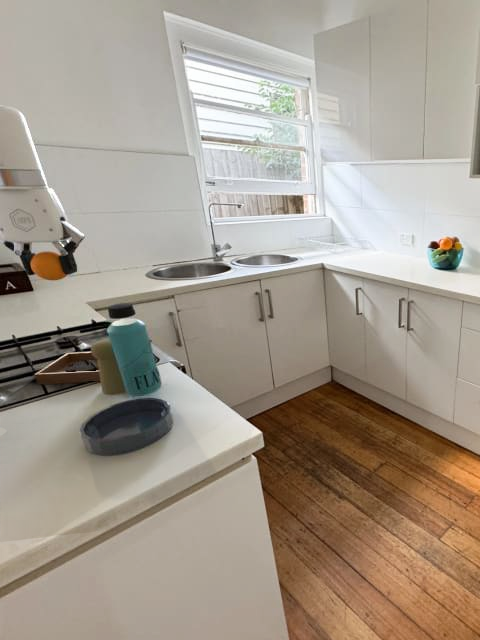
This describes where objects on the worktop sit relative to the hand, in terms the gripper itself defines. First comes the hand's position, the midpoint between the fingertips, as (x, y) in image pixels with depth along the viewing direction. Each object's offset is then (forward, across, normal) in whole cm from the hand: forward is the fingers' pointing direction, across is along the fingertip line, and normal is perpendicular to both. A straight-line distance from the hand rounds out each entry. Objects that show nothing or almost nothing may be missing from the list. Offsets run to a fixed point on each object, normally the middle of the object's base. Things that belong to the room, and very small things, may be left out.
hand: (53, 272), depth 80 cm
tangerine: (-1, 0, 0) cm, 1 cm away
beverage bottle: (+24, +18, -13) cm, 32 cm away
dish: (+23, +21, -26) cm, 41 cm away
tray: (+23, 0, 0) cm, 23 cm away
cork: (+24, +11, -9) cm, 27 cm away
